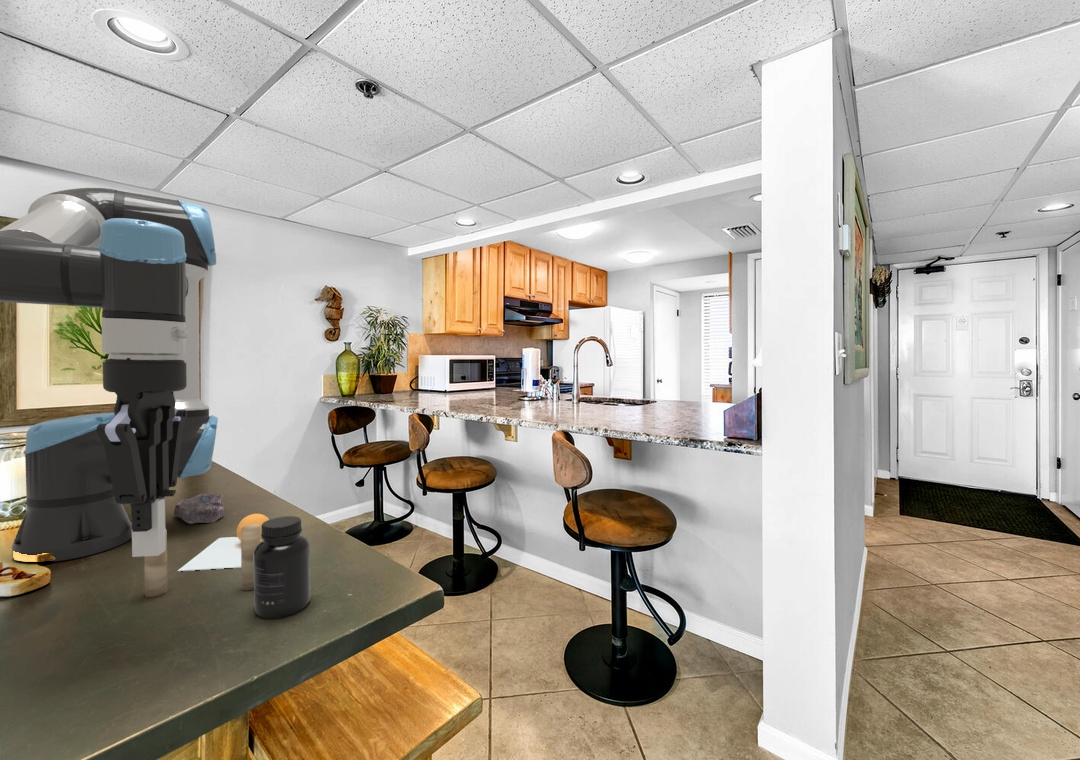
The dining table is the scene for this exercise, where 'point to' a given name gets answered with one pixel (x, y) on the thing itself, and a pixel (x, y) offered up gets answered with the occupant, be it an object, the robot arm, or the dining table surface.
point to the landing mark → (217, 556)
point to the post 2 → (248, 554)
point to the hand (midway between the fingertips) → (149, 553)
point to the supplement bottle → (281, 568)
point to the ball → (251, 522)
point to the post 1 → (156, 573)
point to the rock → (200, 508)
